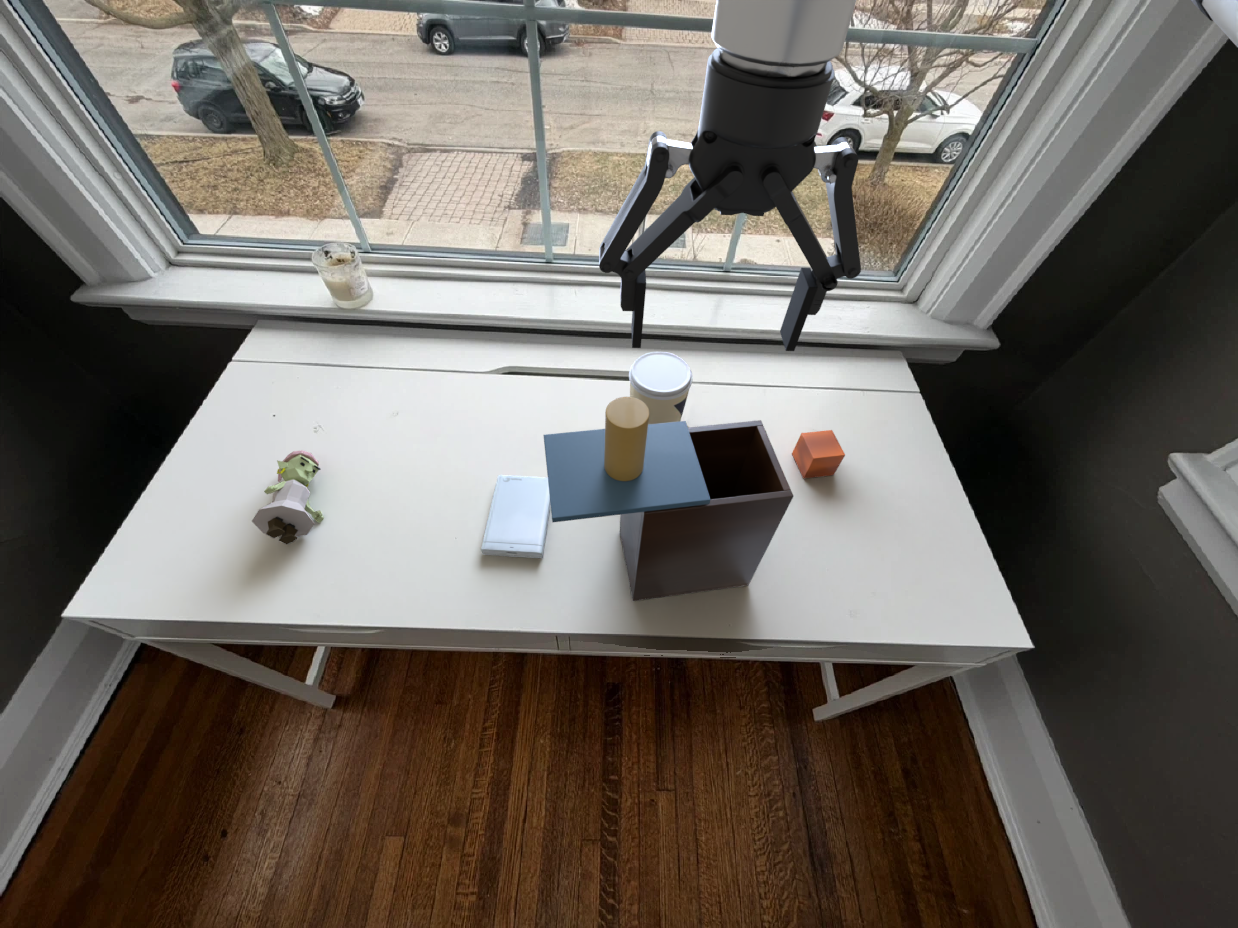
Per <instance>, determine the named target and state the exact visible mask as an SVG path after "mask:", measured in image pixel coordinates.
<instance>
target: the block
mask: <svg viewBox="0 0 1238 928" xmlns="http://www.w3.org/2000/svg"><path fill="white" fill-rule="evenodd" d="M791 455H792V457H793V459H794V461H795V463H796V466H797V468H798V470H799V472H800V475H801V477H802V479H804V480H805V479H812V478H813V479H814V478H821V477H822V478H823V477H830V476H834V475H835V474H836V472H837V471H838V469H839V467H840V465H841V464H842V462H843V460H844V458H845V457H846V454H845V451H844V450H843V448H842V446H841V444H840V442H839V440H838V439H837V436H836V434H835V433H834V430H833V429H828V430H818V431H809V432H801V433H800V435H799V437H798V440H797V442H796V444H795V446H794V448H793V450H792V453H791Z"/></svg>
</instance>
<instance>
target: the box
mask: <svg viewBox="0 0 1238 928" xmlns="http://www.w3.org/2000/svg"><path fill="white" fill-rule="evenodd" d="M687 427H688V426H687ZM688 430H689V433H690V436H691V439H692V443H693V446H694V449H695V452H696V455H697V458H698V462H699V465H700V468H701V471H702V474H703V477H704V480H705V484H706V487H707V490H708V493H709V496H710V499H711V500H710V503H709V504H705V505H697V506H688V507H680V508H671V509H663V510H654V511H646V512H637V513H629V514H620V515H619V517H620V518H619V537H620V540H621V546H622V553H623V558H624V562H625V568H626V573H627V579H628V584H629V590H630V595H631V600H632V601H631V602H638V601H639V602H640V601H646V600H652V599H653V600H654V599H660V598H668V597H676V596H683V595H689V594H696V593H697V594H698V593H703V592H711V591H716V590H717V591H718V590H725V589H726V590H727V589H733V588H739V587H745V586H746V587H747V586H749V585H750V583H751V581H752V579H753V577H754V575H755V574H756V571H757V570H758V568H759V565H760V564H761V562H762V559H763V557H764V556H765V554H766V551H768V548H769V546H770V544H771V542H772V540H773V539H774V536H775V534H776V532H777V531H778V528H779V526H780V524H781V522H782V521H783V518H784V516H785V514H786V512H787V510H788V508H789V506H790V504H791V502H792V500H793V498H794V494H793V491H792V490H791V487H790V484H789V482H788V479H787V478H786V475H785V473H784V470H783V468H782V466H781V464H780V461H779V459H778V456H777V454H776V452H775V450H774V446H773V445H772V442H771V440H770V438H769V435H768V434H767V431H766V429H765V426H764V424H763V421H762V420H761V419H759V420H749V421H740V422H730V423H729V422H727V423H718V424H708V425H700V426H699V425H697V426H689V427H688Z"/></svg>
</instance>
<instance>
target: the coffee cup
mask: <svg viewBox="0 0 1238 928" xmlns="http://www.w3.org/2000/svg"><path fill="white" fill-rule="evenodd" d="M628 379H629V397H634V398H637V399H639V400H641V401H642V402H644V403H645V404H646V406H647V407H648V409H649V422H648V424H659V423H669V422H679V421H682V417H683V413H684V411H685V406H686V403H687V399H688V395H689V392H690V388H692V387H691V386H692V384H693V372H692V369H691V367H690V365H689V364H688V363H687V361H686V360H685V359H683V358H682V357H680V356H679V355H677V354H674V353H672V352H667V351H651V352H647V353H645V354H644V353H643V354H642V355H640V356H639V357H638V358H636V359H635V360H634V361H633V363H632V364H631V366H630V367H629V370H628Z"/></svg>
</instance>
